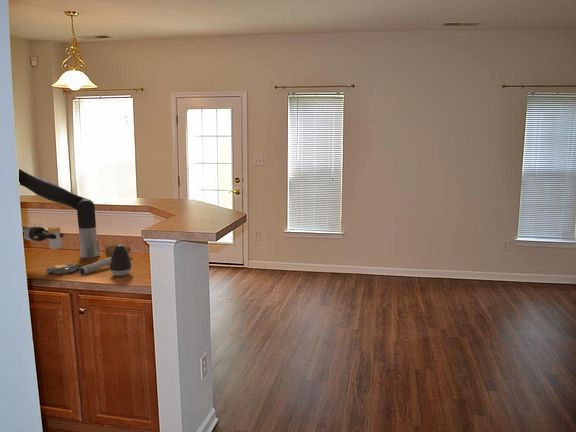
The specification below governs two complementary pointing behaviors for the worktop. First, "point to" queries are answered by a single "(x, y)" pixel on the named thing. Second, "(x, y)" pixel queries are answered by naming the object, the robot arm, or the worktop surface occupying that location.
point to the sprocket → (63, 269)
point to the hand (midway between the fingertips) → (59, 236)
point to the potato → (112, 246)
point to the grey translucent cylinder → (56, 242)
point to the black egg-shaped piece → (120, 261)
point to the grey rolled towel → (94, 266)
